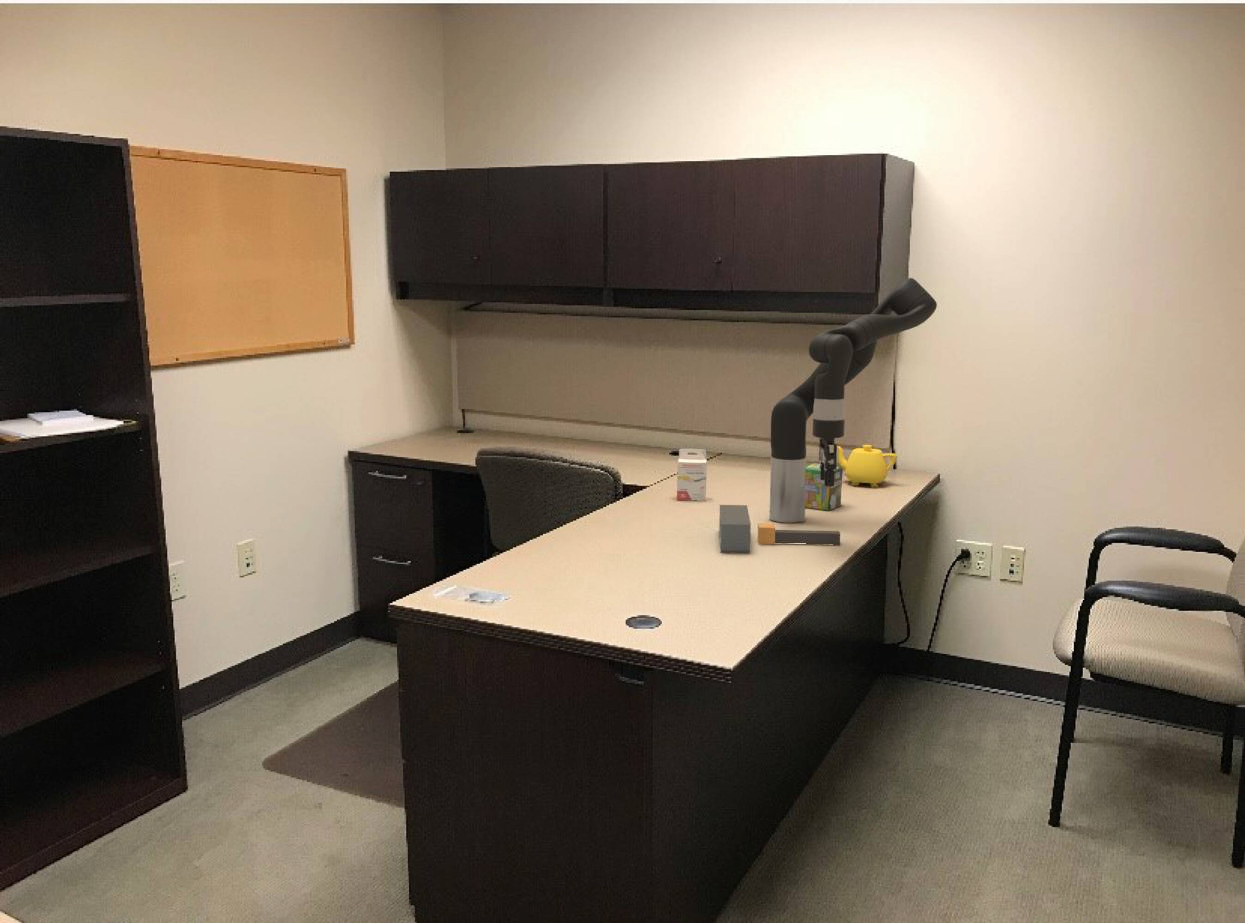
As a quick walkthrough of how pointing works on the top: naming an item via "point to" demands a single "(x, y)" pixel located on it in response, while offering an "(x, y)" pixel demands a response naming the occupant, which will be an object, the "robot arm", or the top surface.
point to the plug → (795, 536)
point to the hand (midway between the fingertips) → (827, 483)
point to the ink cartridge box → (691, 475)
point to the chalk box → (822, 489)
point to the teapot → (866, 465)
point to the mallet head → (734, 528)
